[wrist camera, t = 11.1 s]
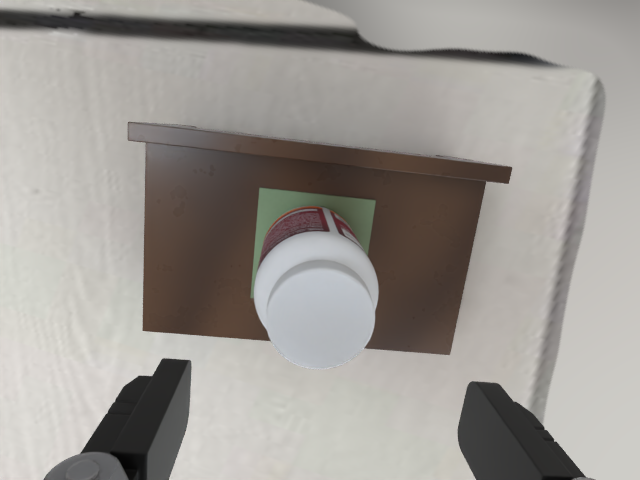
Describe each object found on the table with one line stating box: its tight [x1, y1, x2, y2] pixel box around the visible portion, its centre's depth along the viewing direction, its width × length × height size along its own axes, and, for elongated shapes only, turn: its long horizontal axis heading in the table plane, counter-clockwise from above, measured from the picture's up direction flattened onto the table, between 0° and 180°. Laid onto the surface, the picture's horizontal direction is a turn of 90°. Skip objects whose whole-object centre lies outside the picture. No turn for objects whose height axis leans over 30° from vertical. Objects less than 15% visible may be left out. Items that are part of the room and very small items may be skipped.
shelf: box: [128, 122, 512, 355], centre depth 30 cm, size 22×14×9 cm, turn 83°
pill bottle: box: [254, 206, 379, 369], centre depth 23 cm, size 6×6×11 cm
